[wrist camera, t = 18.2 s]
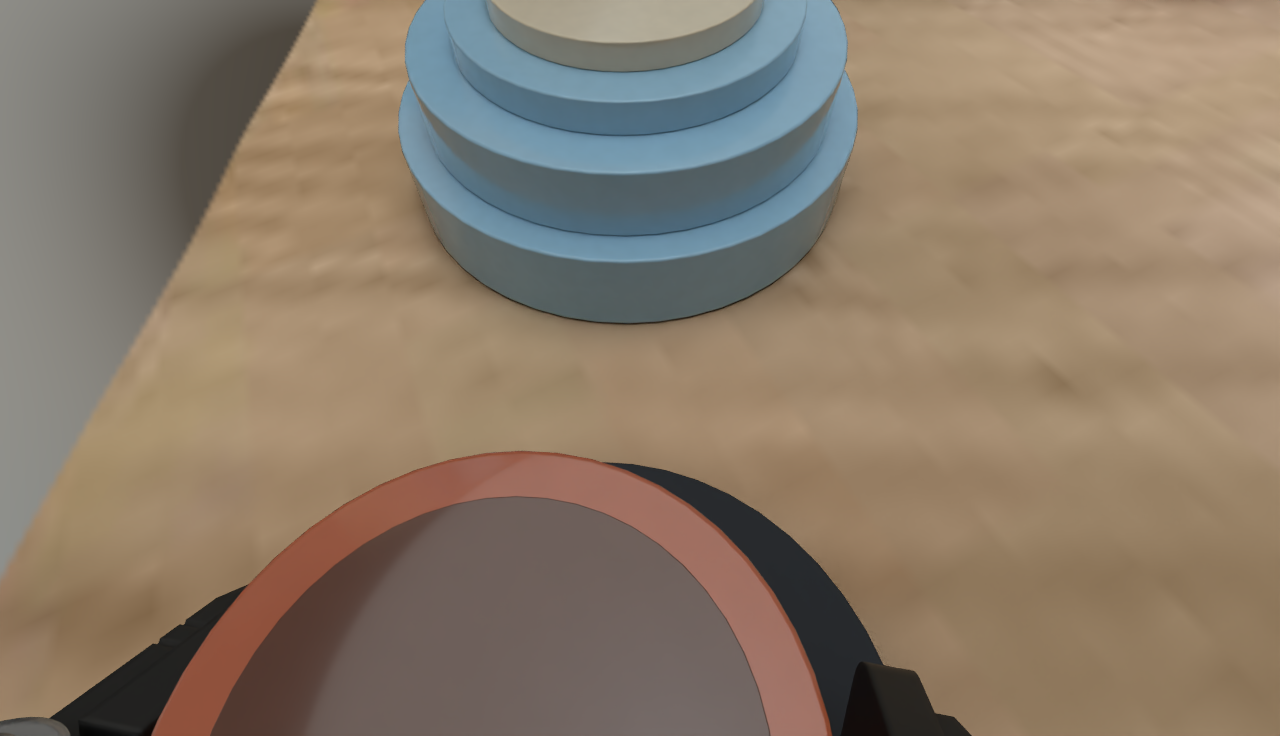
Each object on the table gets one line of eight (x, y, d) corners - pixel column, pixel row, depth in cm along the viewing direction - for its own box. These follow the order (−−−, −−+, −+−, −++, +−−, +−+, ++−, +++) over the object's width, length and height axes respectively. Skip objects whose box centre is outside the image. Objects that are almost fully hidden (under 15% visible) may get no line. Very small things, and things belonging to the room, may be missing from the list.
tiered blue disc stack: (692, 10, 29) (703, -179, 23) (926, 211, 22) (1027, 11, 16) (369, 115, 25) (286, -82, 19) (529, 403, 18) (473, 228, 12)
